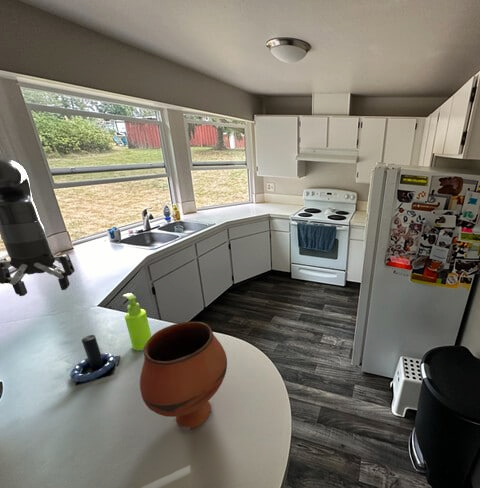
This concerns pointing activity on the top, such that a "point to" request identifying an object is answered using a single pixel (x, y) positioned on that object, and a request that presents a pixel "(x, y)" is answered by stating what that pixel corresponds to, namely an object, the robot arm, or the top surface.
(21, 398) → the top surface
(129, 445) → the top surface
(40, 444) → the top surface
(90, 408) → the top surface
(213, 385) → the goblet
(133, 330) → the soap dispenser
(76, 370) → the ring
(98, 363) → the ring toss peg
